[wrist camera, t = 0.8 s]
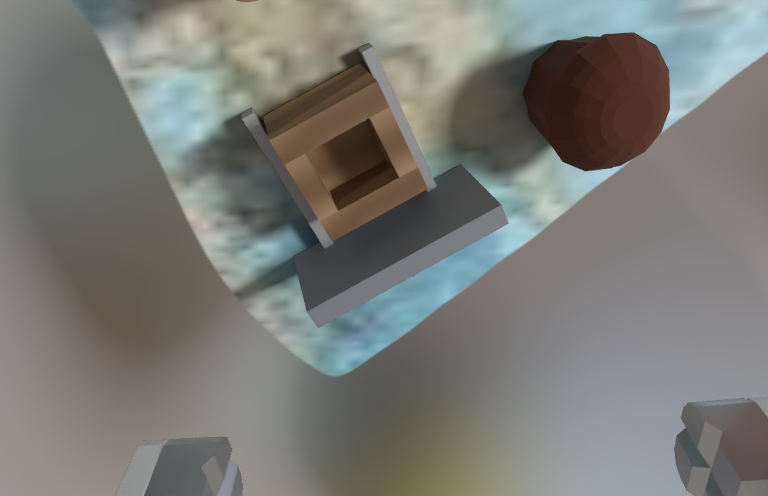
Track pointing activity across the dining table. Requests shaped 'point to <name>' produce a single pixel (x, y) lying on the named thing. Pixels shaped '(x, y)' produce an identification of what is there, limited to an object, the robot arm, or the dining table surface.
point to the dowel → (246, 0)
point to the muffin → (599, 98)
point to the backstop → (385, 225)
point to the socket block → (345, 151)
